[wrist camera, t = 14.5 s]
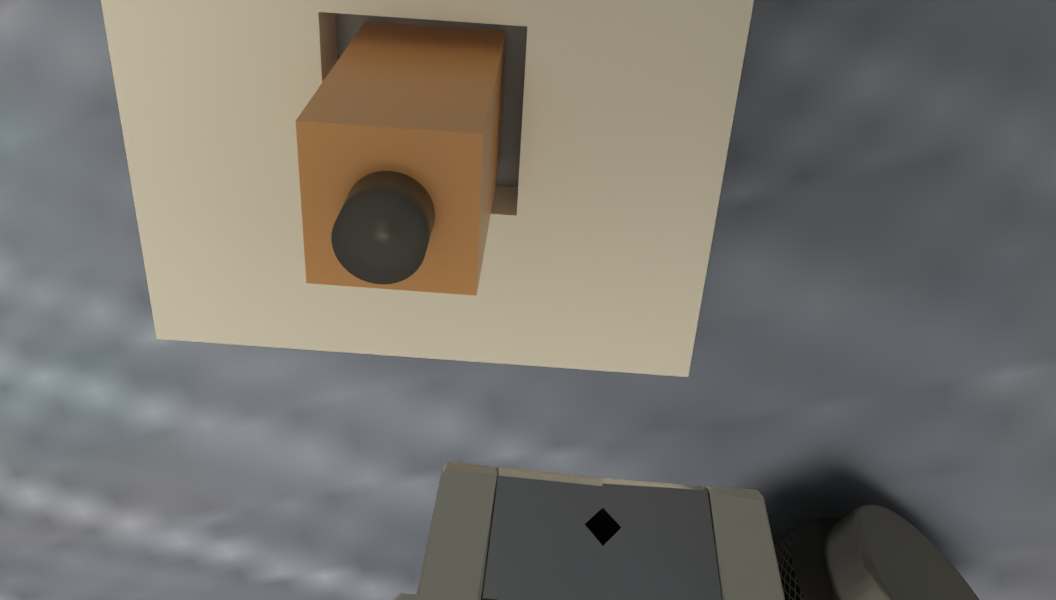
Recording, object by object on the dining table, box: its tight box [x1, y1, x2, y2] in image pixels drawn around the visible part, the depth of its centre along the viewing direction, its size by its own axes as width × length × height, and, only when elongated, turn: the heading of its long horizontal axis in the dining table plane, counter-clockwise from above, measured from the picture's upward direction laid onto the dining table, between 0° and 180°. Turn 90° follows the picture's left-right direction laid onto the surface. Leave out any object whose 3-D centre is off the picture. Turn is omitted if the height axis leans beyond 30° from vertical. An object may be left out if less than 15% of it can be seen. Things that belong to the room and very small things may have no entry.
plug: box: [296, 21, 506, 296], centre depth 24 cm, size 4×4×10 cm
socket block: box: [101, 0, 754, 377], centre depth 29 cm, size 17×16×4 cm
